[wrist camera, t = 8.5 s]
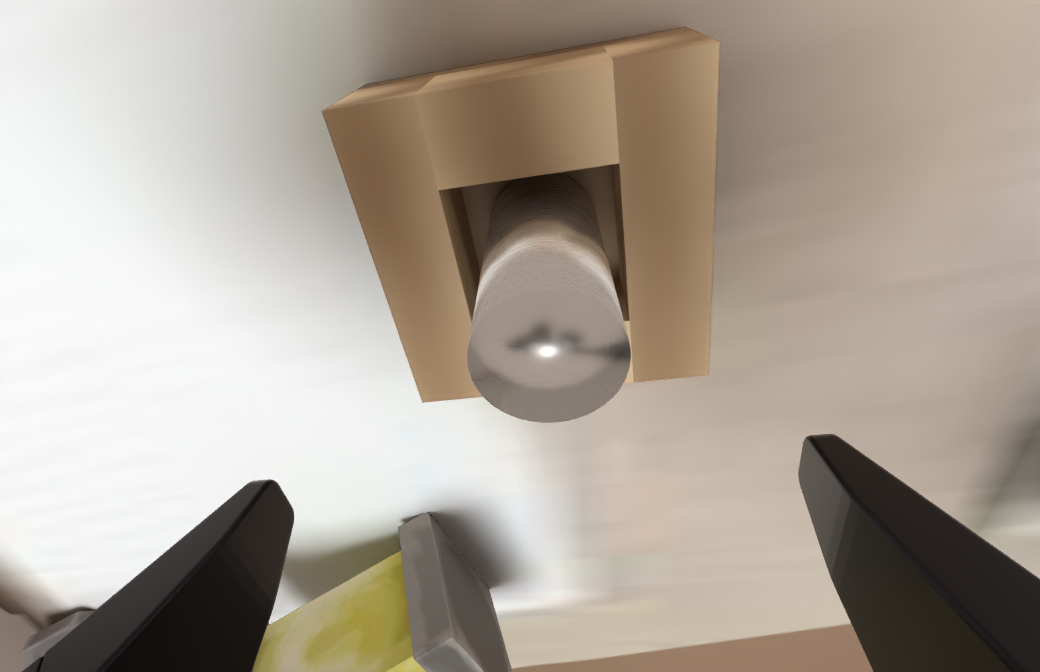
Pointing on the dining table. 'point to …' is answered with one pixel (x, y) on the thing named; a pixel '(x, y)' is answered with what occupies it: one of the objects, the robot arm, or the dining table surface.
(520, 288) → the pin
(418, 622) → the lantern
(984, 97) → the dining table surface
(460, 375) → the bore block
